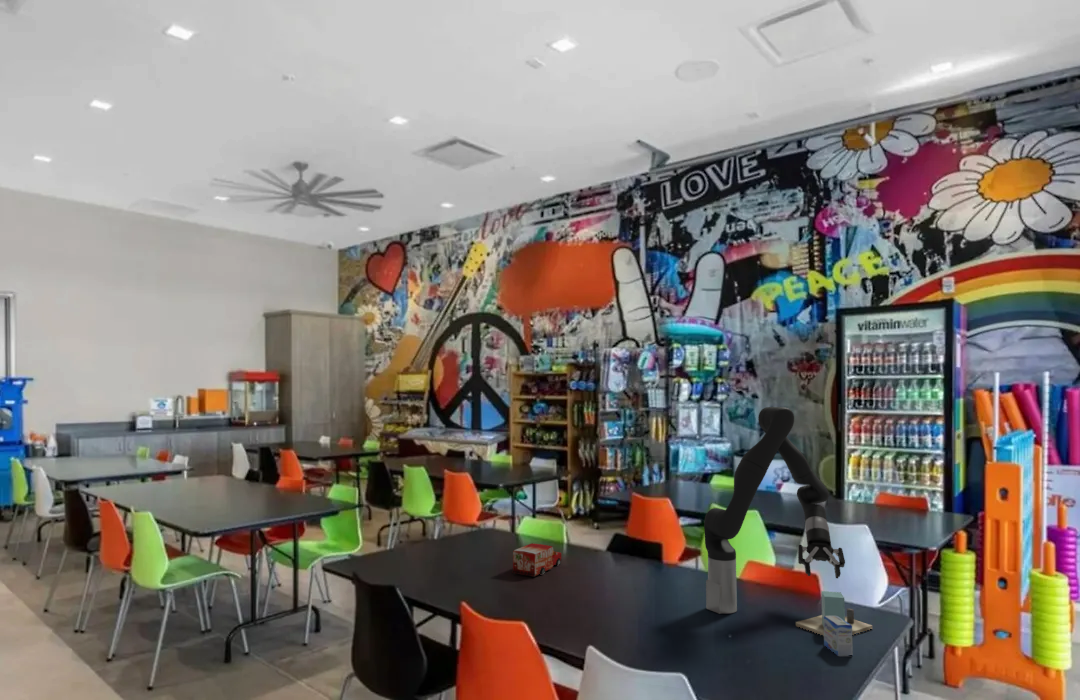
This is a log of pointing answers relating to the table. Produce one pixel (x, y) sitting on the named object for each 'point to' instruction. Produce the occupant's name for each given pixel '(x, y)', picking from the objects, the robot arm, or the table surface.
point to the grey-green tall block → (832, 605)
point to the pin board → (817, 626)
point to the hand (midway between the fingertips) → (823, 575)
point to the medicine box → (838, 635)
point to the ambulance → (534, 559)
